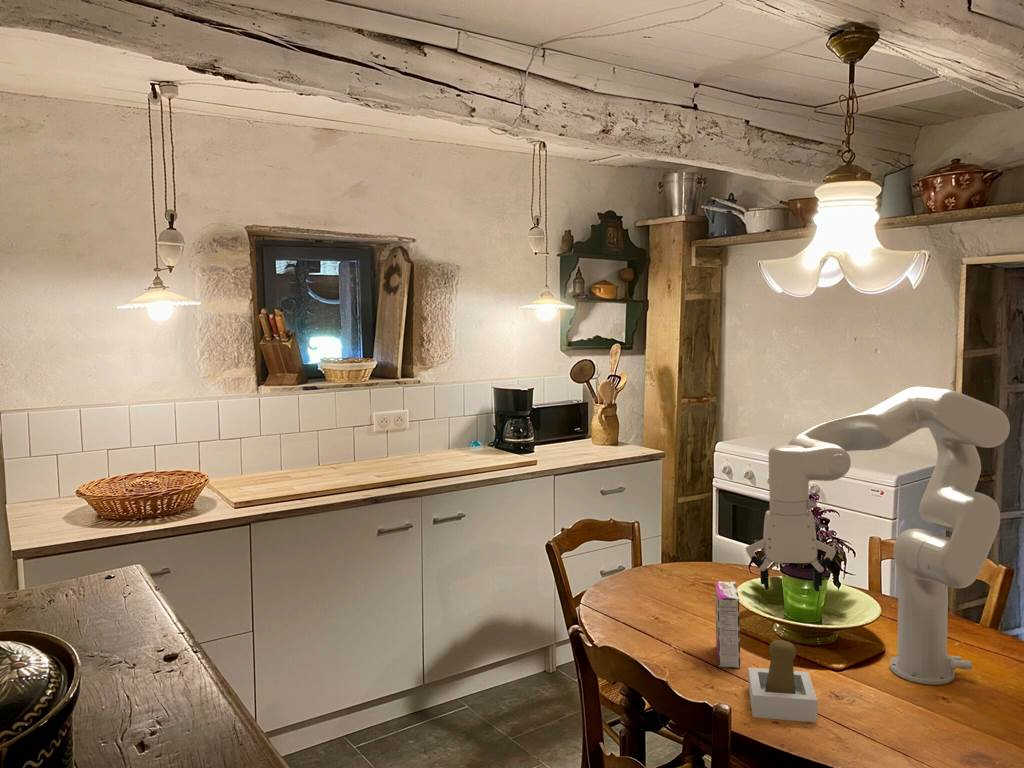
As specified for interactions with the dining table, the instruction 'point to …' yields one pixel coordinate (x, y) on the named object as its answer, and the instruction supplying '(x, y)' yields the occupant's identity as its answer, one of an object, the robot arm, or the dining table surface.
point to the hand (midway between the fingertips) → (791, 588)
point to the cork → (781, 668)
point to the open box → (782, 698)
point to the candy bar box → (727, 624)
